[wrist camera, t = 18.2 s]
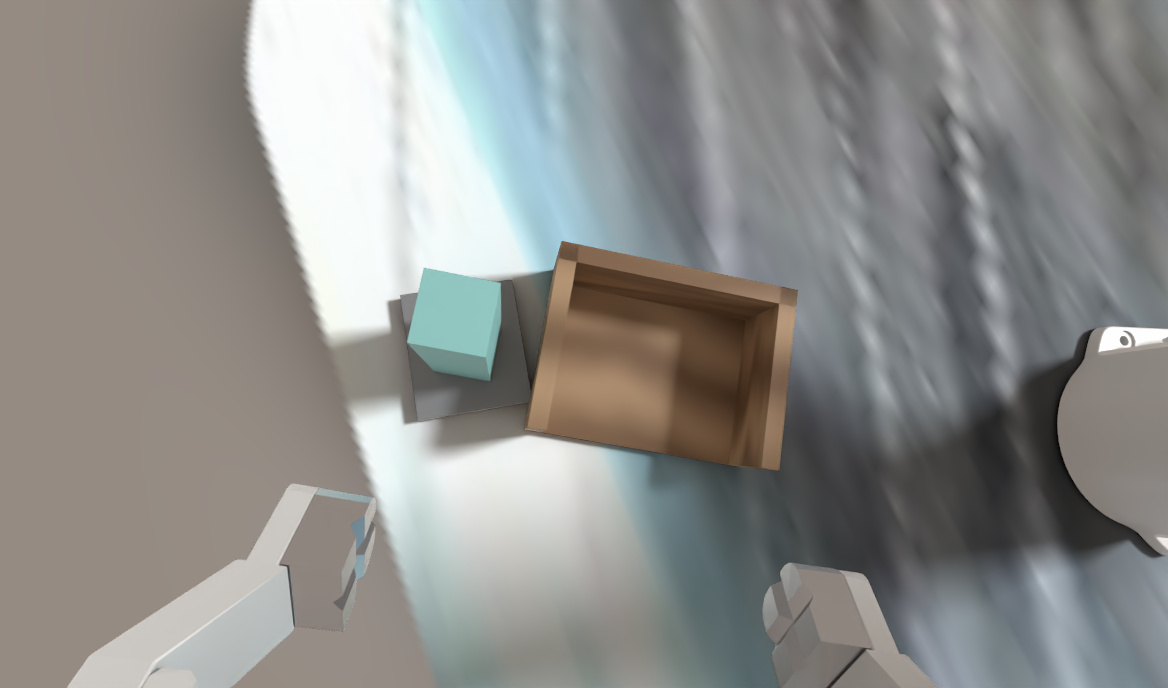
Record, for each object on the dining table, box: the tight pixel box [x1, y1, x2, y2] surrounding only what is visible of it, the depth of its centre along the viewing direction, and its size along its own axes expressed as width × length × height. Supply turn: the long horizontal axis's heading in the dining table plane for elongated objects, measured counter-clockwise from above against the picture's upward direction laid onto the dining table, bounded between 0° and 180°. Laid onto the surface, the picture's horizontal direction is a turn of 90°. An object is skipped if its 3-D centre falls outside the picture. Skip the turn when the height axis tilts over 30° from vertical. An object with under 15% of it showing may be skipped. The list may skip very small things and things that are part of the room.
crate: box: [524, 241, 798, 471], centre depth 42 cm, size 12×16×6 cm
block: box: [407, 268, 501, 381], centre depth 36 cm, size 4×4×12 cm
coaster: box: [400, 280, 531, 421], centre depth 43 cm, size 8×9×1 cm
